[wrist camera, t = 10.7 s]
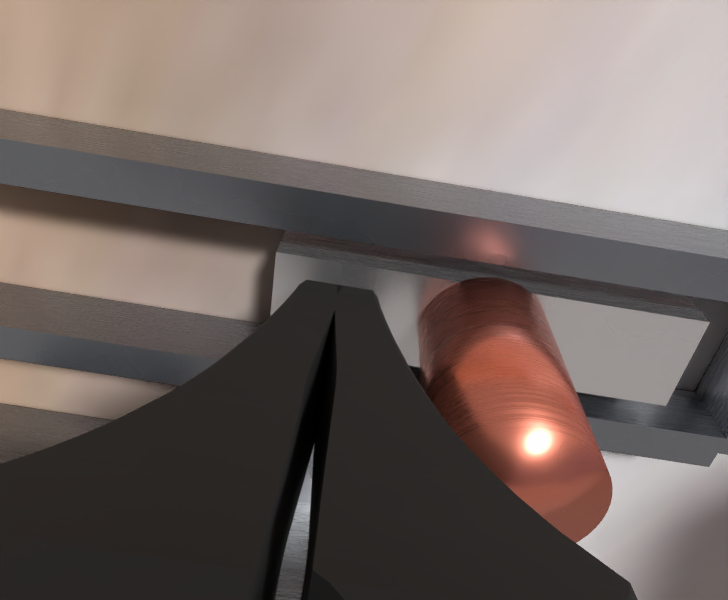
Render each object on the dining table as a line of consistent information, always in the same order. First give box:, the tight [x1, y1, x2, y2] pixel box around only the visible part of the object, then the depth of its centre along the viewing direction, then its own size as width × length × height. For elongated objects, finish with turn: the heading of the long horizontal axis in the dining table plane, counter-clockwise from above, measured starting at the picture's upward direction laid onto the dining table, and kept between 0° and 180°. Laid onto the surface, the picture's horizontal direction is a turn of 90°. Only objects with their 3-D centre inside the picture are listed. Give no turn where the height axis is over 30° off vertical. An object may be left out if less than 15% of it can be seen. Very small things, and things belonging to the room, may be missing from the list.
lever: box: [270, 230, 710, 543], centre depth 10 cm, size 8×2×5 cm, turn 81°
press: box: [0, 109, 728, 504], centre depth 12 cm, size 17×15×6 cm
